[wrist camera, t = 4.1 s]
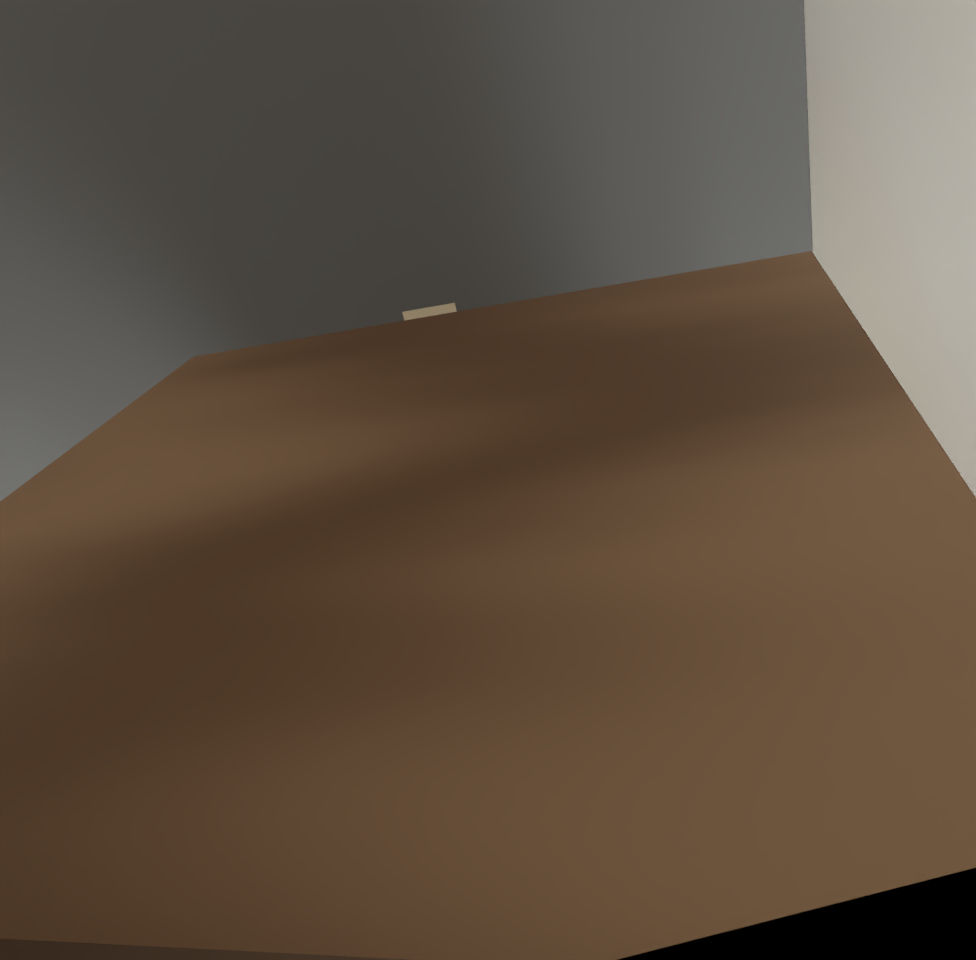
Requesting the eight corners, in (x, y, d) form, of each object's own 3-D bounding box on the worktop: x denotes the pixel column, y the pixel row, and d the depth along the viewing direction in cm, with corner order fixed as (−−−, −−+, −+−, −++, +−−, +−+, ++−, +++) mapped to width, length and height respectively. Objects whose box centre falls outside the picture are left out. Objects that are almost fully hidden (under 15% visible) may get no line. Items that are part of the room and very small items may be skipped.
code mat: (787, -362, 8) (790, -376, 8) (828, 774, 15) (832, 788, 15) (-594, 135, 13) (-619, 137, 13) (-76, 785, 21) (-86, 795, 21)
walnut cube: (811, 250, 7) (1318, 1007, 2) (829, 754, 9) (1037, 1623, 4) (193, 357, 8) (-545, 909, 3) (363, 762, 11) (113, 1409, 6)
